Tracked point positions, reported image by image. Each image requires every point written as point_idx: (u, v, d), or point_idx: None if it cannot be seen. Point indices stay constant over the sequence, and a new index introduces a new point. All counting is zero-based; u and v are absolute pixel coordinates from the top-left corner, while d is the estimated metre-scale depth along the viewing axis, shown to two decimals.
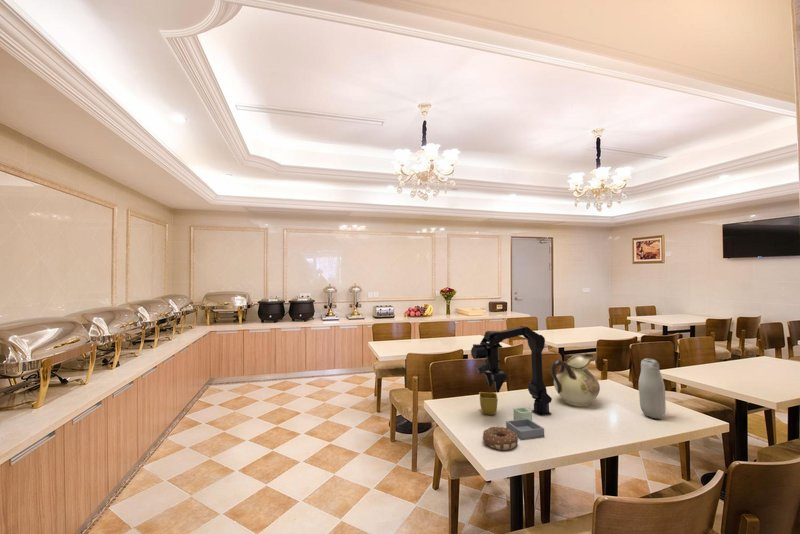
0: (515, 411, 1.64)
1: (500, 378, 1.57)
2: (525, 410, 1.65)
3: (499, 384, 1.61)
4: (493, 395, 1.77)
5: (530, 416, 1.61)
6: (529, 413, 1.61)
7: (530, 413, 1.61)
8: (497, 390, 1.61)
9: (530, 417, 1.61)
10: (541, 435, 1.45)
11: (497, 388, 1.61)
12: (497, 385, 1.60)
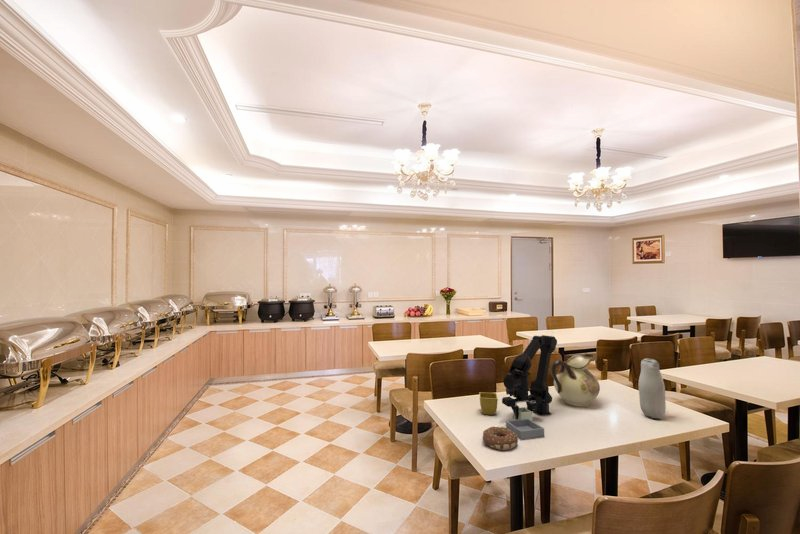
0: None
1: (504, 403, 1.61)
2: (525, 410, 1.65)
3: (515, 411, 1.62)
4: (493, 395, 1.77)
5: (530, 416, 1.61)
6: (529, 413, 1.61)
7: (530, 413, 1.61)
8: (515, 416, 1.62)
9: (530, 417, 1.61)
10: (541, 435, 1.45)
11: (515, 414, 1.62)
12: (513, 411, 1.62)
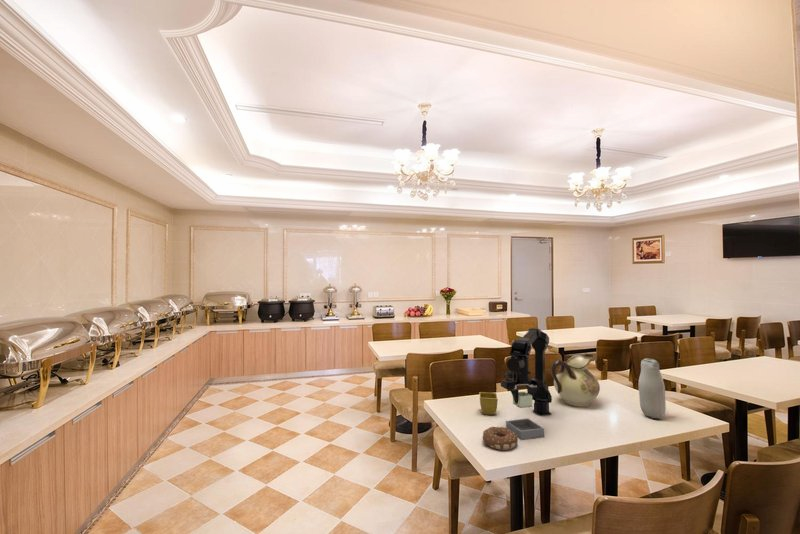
0: None
1: (503, 386, 1.52)
2: (525, 394, 1.55)
3: (514, 394, 1.52)
4: (493, 395, 1.77)
5: (530, 400, 1.51)
6: (529, 397, 1.51)
7: (530, 397, 1.51)
8: None
9: (530, 401, 1.51)
10: (541, 435, 1.45)
11: (514, 398, 1.53)
12: (513, 395, 1.53)
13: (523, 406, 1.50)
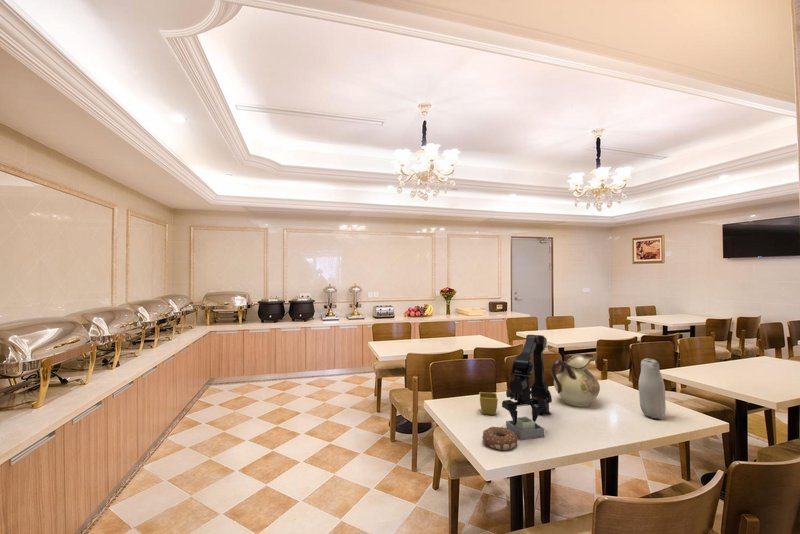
0: None
1: (504, 407, 1.48)
2: (527, 420, 1.52)
3: (513, 416, 1.48)
4: (493, 395, 1.77)
5: (533, 426, 1.48)
6: (532, 423, 1.47)
7: (533, 423, 1.48)
8: None
9: (533, 428, 1.47)
10: (541, 435, 1.45)
11: (513, 419, 1.49)
12: (512, 416, 1.49)
13: None
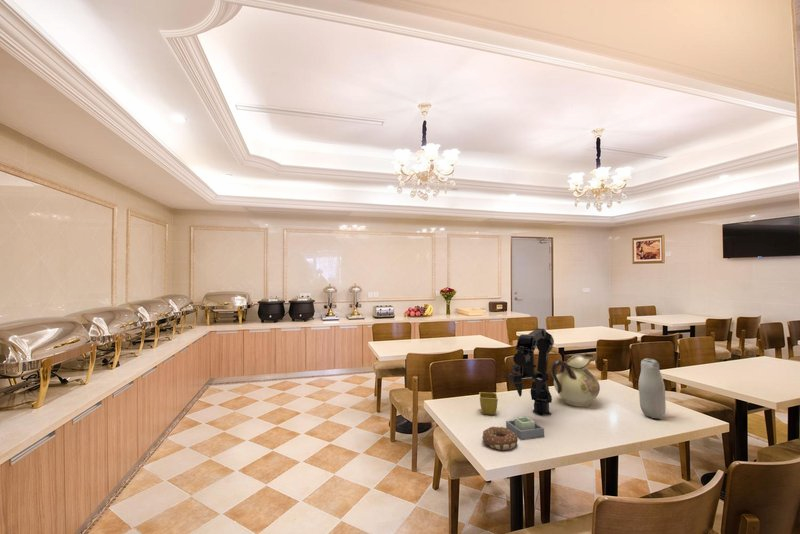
0: (516, 421, 1.50)
1: (510, 379, 1.58)
2: (527, 420, 1.52)
3: (518, 388, 1.58)
4: (493, 395, 1.77)
5: (533, 426, 1.48)
6: (532, 423, 1.47)
7: (533, 423, 1.48)
8: (518, 393, 1.59)
9: (533, 428, 1.47)
10: (541, 435, 1.45)
11: (518, 391, 1.59)
12: (517, 388, 1.59)
13: None
